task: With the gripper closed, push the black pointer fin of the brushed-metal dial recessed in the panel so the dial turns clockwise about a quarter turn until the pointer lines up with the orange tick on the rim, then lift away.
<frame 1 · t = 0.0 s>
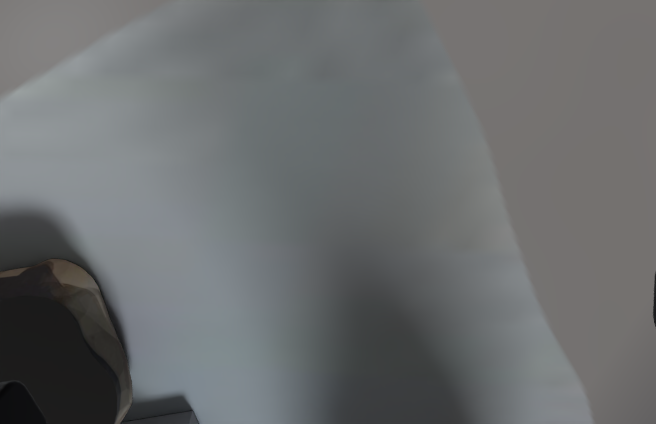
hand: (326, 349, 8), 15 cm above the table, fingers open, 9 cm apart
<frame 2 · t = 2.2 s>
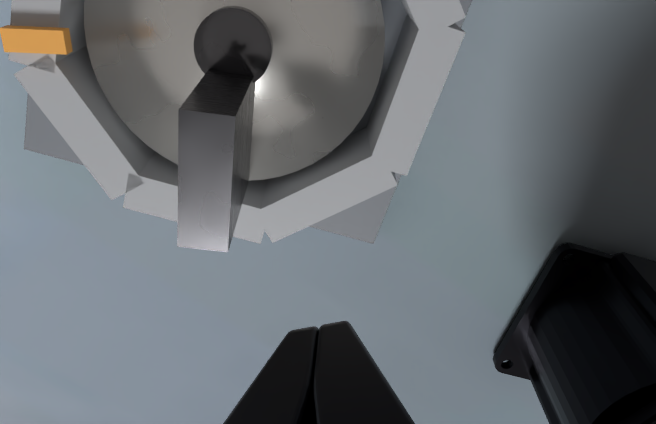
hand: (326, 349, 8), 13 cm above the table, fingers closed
dial: (229, 53, 15), point 4 cm above the table, hinge at 10.0°
dial panel: (251, 22, 19), on the table
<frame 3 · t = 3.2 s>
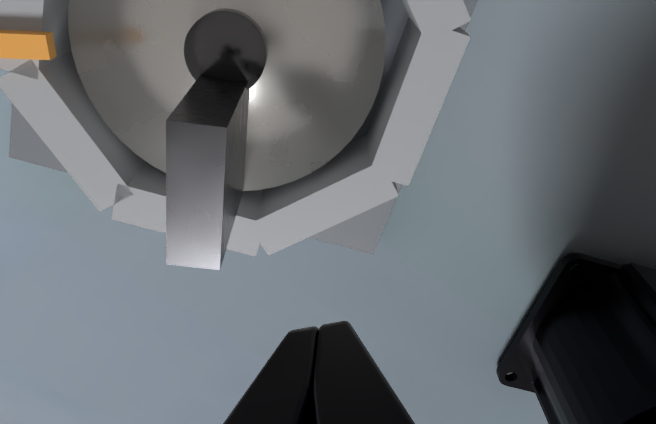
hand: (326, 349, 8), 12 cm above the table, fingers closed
dial: (222, 58, 14), point 5 cm above the table, hinge at 10.0°
dial panel: (245, 25, 18), on the table
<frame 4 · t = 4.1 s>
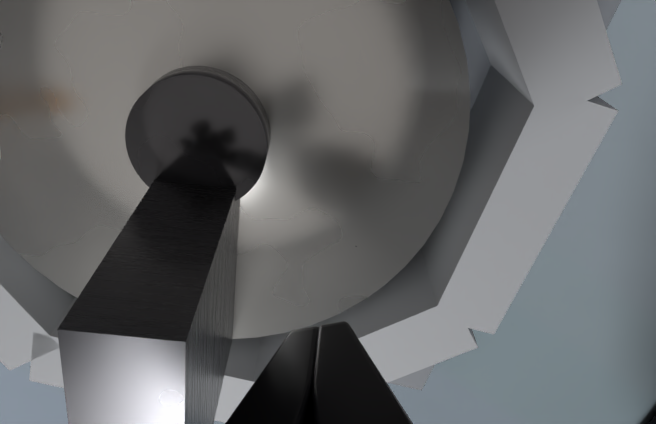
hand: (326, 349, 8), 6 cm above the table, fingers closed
dial: (190, 156, 8), point 4 cm above the table, hinge at 9.9°, touching gripper
dial panel: (237, 73, 12), on the table
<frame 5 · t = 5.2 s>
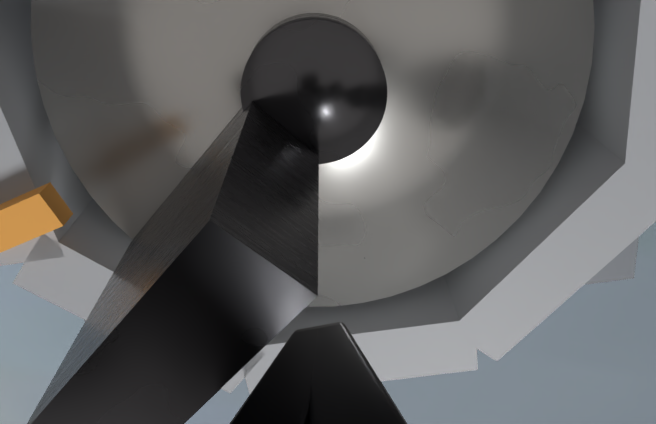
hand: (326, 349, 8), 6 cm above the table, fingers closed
dial: (313, 105, 7), point 5 cm above the table, hinge at -49.7°, touching gripper
dial panel: (316, 37, 11), on the table
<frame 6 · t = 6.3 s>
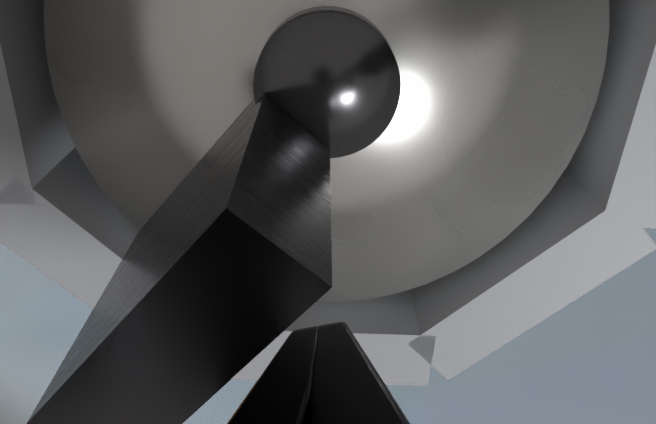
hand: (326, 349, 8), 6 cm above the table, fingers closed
dial: (327, 98, 7), point 5 cm above the table, hinge at -84.6°, touching gripper
dial panel: (326, 32, 11), on the table
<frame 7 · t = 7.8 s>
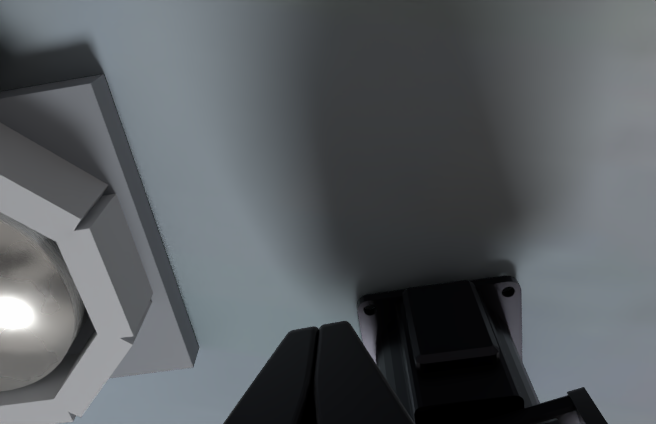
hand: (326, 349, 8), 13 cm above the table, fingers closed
dial panel: (4, 250, 23), on the table
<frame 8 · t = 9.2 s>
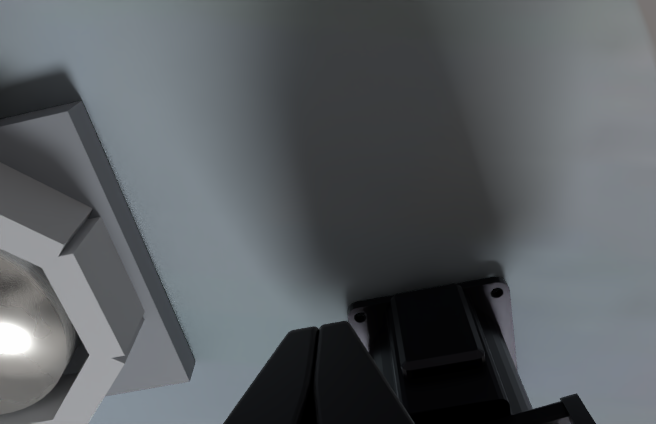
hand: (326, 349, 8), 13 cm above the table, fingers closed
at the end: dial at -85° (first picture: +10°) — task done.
